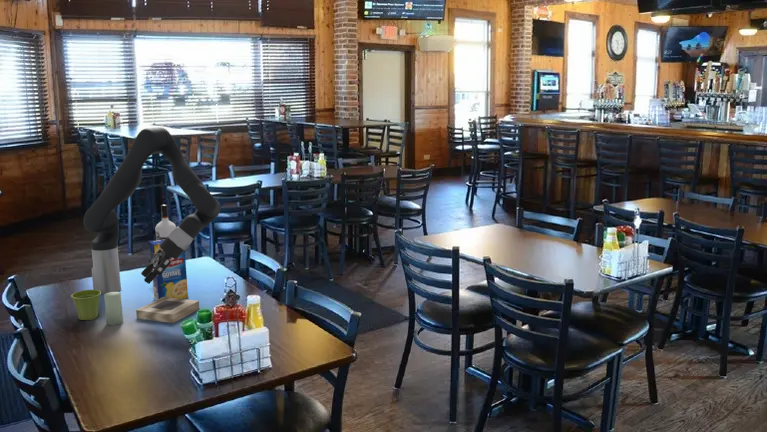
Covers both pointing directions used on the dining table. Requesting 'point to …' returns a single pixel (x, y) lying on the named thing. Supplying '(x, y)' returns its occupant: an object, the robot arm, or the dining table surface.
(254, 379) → the dining table surface
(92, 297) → the plant pot
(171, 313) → the birch base
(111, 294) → the sage post
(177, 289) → the beverage box
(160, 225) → the vodka
